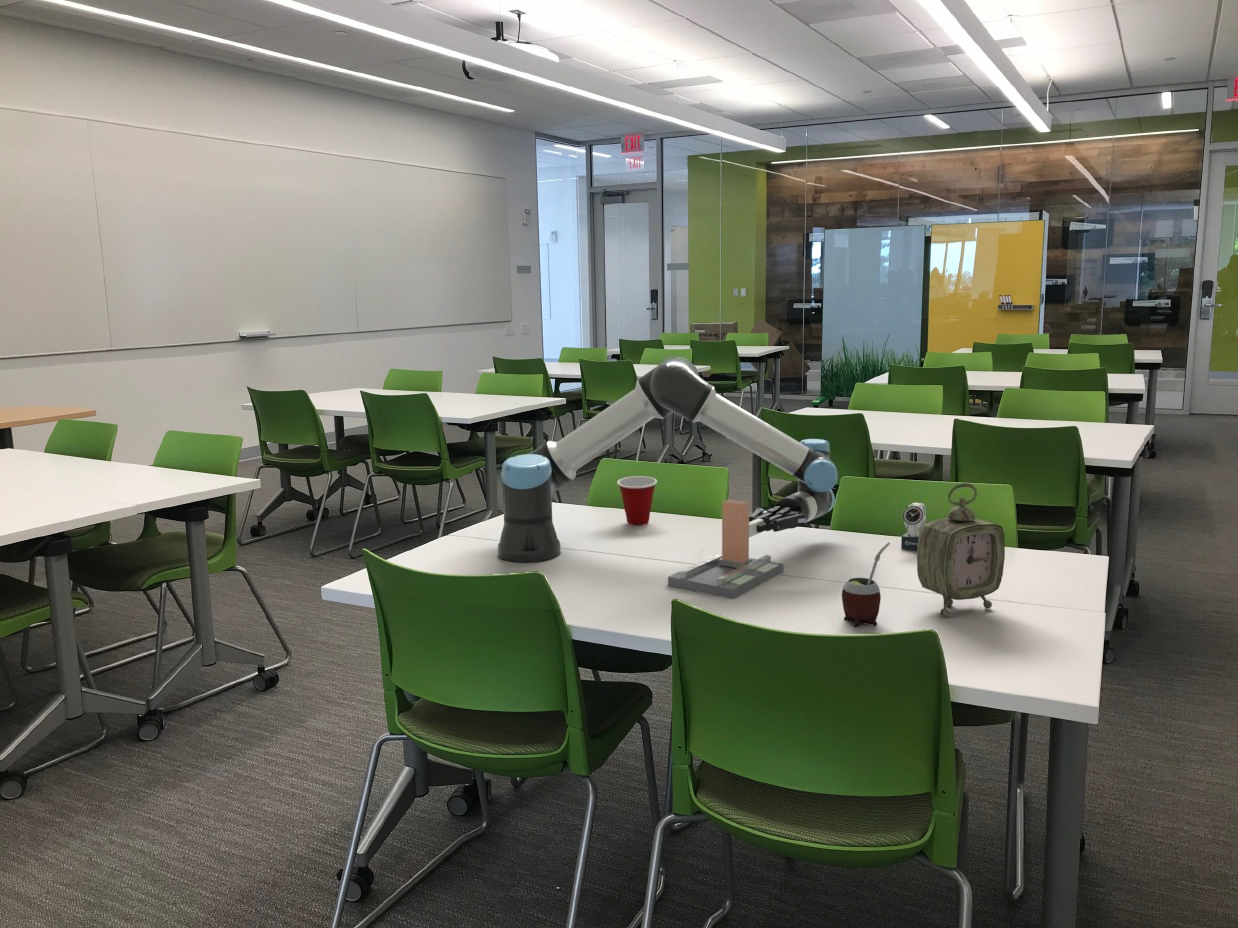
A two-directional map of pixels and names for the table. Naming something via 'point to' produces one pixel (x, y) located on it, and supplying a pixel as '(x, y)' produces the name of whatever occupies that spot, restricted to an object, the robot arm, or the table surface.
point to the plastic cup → (637, 498)
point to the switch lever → (735, 534)
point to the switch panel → (725, 576)
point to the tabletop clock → (961, 555)
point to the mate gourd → (862, 598)
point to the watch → (913, 525)
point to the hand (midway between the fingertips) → (746, 531)
